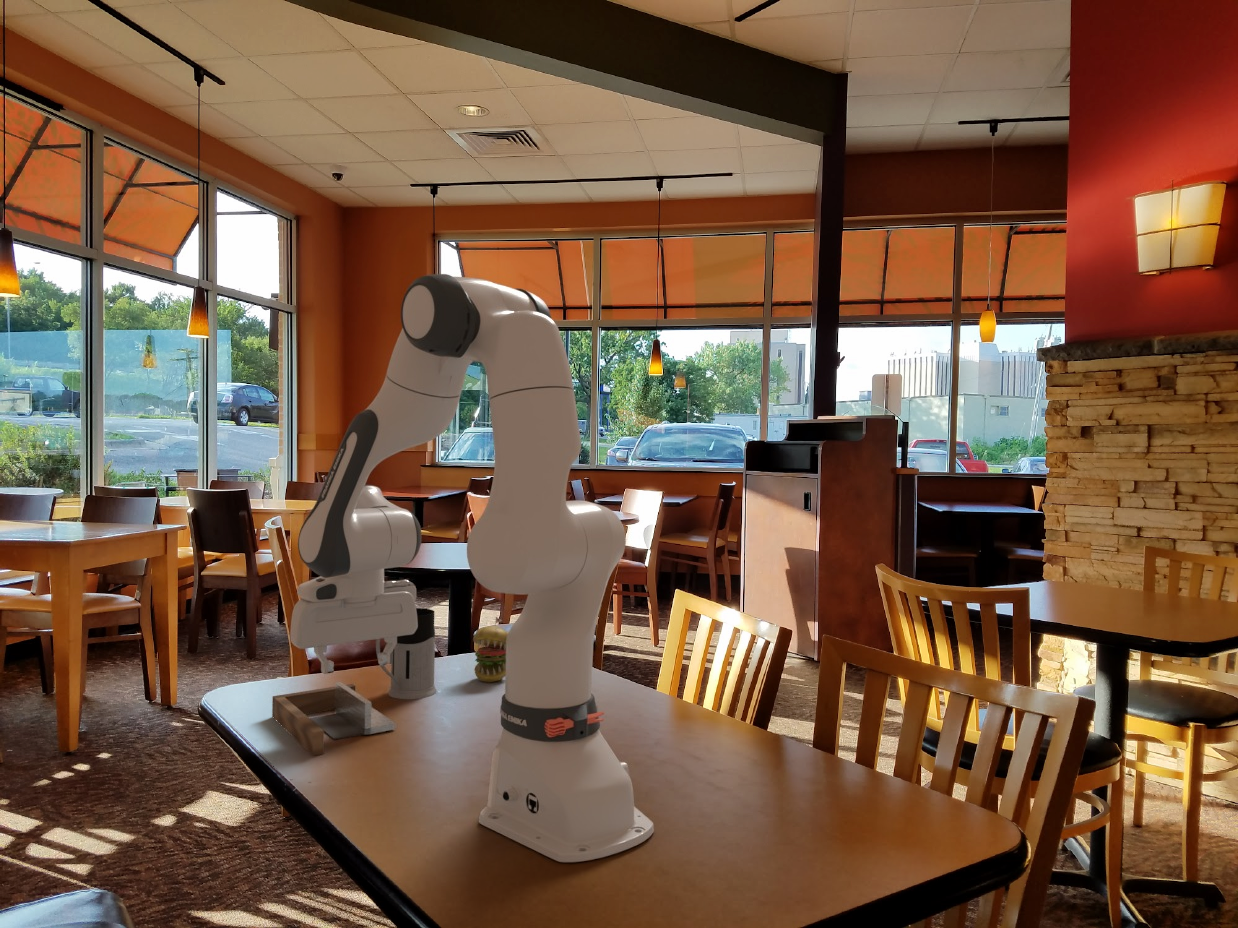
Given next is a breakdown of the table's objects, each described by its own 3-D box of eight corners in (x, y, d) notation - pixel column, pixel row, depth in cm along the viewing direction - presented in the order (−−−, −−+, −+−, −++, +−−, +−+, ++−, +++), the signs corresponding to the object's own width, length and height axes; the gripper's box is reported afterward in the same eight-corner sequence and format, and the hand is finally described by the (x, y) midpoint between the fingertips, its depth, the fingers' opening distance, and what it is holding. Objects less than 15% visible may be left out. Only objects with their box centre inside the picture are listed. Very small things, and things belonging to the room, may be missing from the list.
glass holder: (446, 689, 157) (447, 610, 157) (395, 709, 145) (397, 623, 144) (409, 683, 161) (410, 605, 161) (356, 702, 148) (358, 618, 148)
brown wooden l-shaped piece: (400, 738, 131) (401, 715, 130) (313, 755, 122) (313, 732, 122) (351, 703, 148) (352, 683, 148) (272, 716, 139) (272, 696, 139)
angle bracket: (334, 711, 142) (335, 682, 142) (363, 706, 145) (363, 678, 145) (364, 734, 131) (365, 703, 131) (395, 729, 134) (395, 698, 134)
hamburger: (467, 682, 162) (468, 621, 162) (479, 673, 169) (480, 614, 169) (505, 685, 161) (506, 623, 161) (515, 675, 168) (517, 616, 168)
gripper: (408, 576, 145) (408, 655, 145) (287, 587, 133) (287, 673, 133) (423, 580, 140) (424, 662, 140) (298, 592, 128) (299, 682, 128)
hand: (356, 668), depth 137 cm, fingers open, 8 cm apart
